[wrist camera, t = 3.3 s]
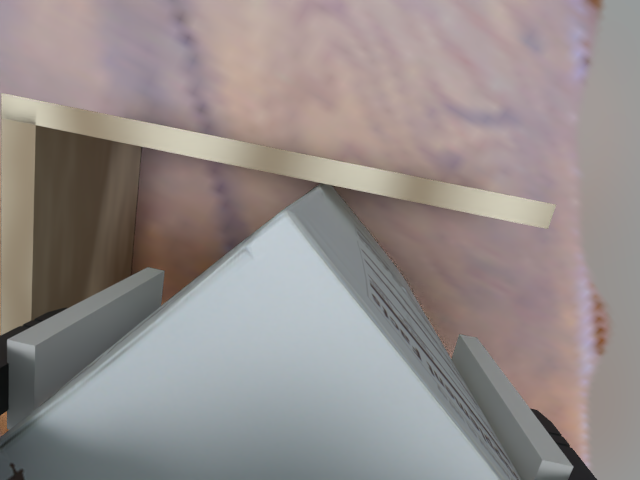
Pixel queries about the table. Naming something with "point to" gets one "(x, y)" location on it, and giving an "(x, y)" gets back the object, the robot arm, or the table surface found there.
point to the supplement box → (271, 376)
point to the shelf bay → (122, 189)
